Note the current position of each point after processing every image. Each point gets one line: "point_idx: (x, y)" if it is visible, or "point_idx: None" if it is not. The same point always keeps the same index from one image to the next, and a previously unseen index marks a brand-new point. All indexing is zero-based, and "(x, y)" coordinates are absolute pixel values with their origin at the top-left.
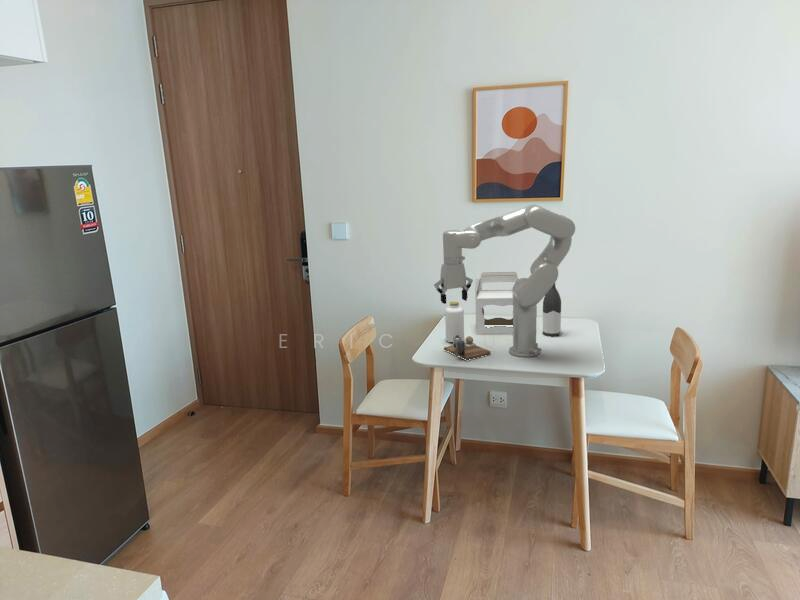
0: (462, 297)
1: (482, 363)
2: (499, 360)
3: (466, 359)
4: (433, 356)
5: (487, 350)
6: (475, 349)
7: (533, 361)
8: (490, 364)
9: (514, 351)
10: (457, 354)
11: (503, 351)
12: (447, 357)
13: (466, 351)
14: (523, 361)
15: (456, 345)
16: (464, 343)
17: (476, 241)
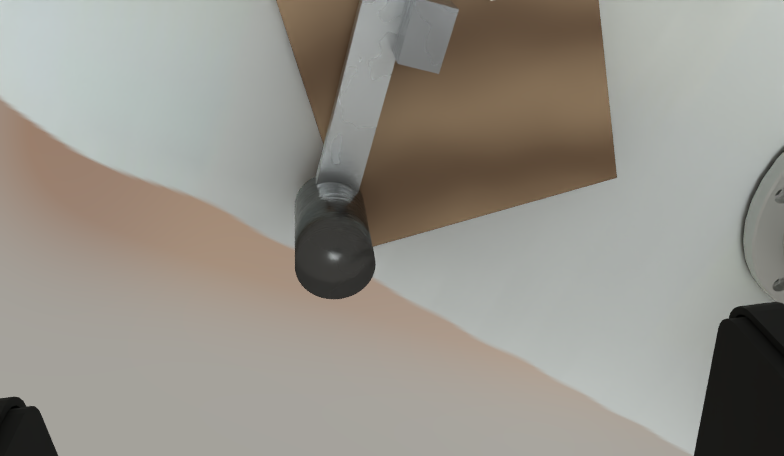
0: (749, 380)
1: (448, 308)
2: (590, 294)
3: None
4: (85, 12)
5: (605, 152)
6: (525, 87)
7: None
8: (491, 340)
9: (779, 231)
10: (318, 126)
11: (740, 133)
12: (222, 93)
13: (421, 108)
14: None
15: (358, 16)
16: (368, 276)
17: None
